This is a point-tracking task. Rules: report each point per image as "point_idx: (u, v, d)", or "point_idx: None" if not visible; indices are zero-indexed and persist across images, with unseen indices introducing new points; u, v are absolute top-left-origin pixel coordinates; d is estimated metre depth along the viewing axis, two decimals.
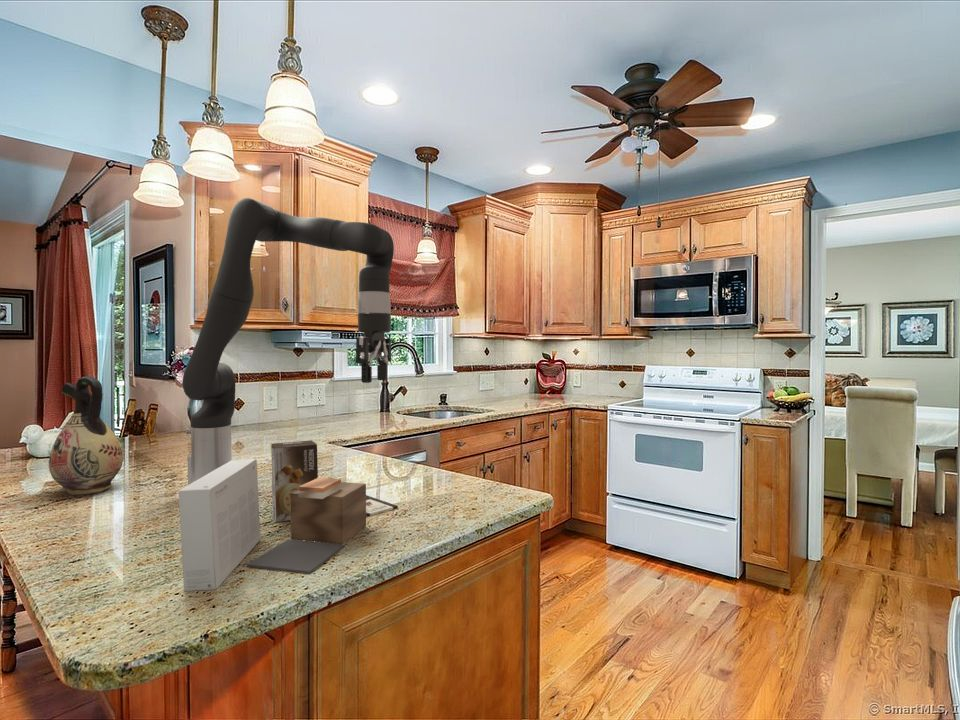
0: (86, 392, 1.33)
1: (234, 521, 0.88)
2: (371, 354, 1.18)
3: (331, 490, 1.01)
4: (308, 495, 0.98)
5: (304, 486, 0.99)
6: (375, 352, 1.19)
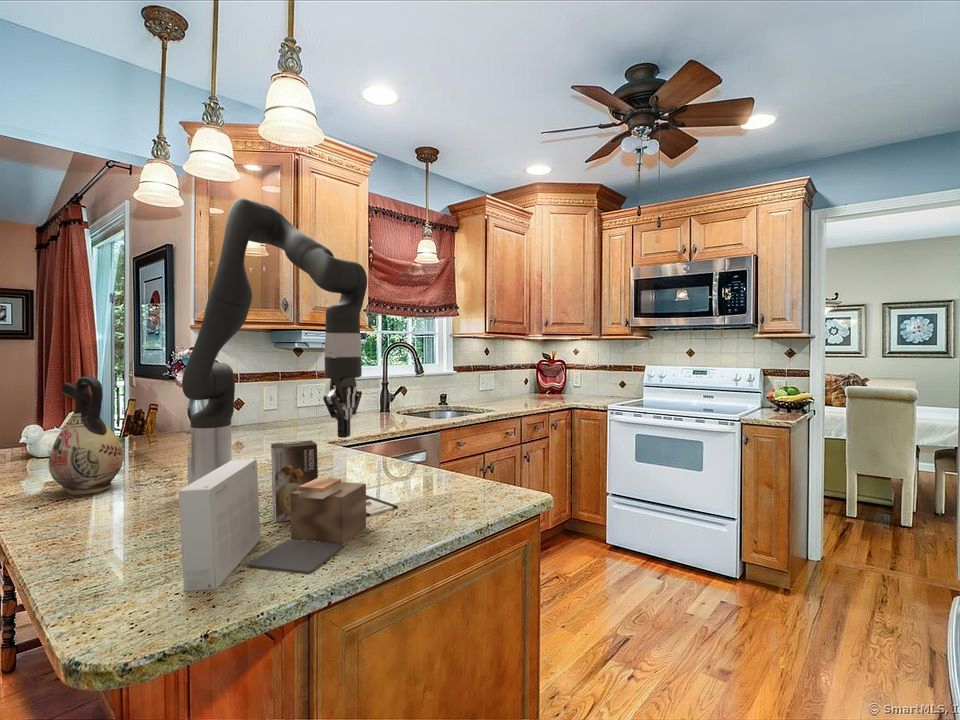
0: (86, 392, 1.33)
1: (234, 521, 0.88)
2: (344, 408, 1.08)
3: (331, 490, 1.01)
4: (308, 495, 0.98)
5: (304, 486, 0.99)
6: (348, 403, 1.09)
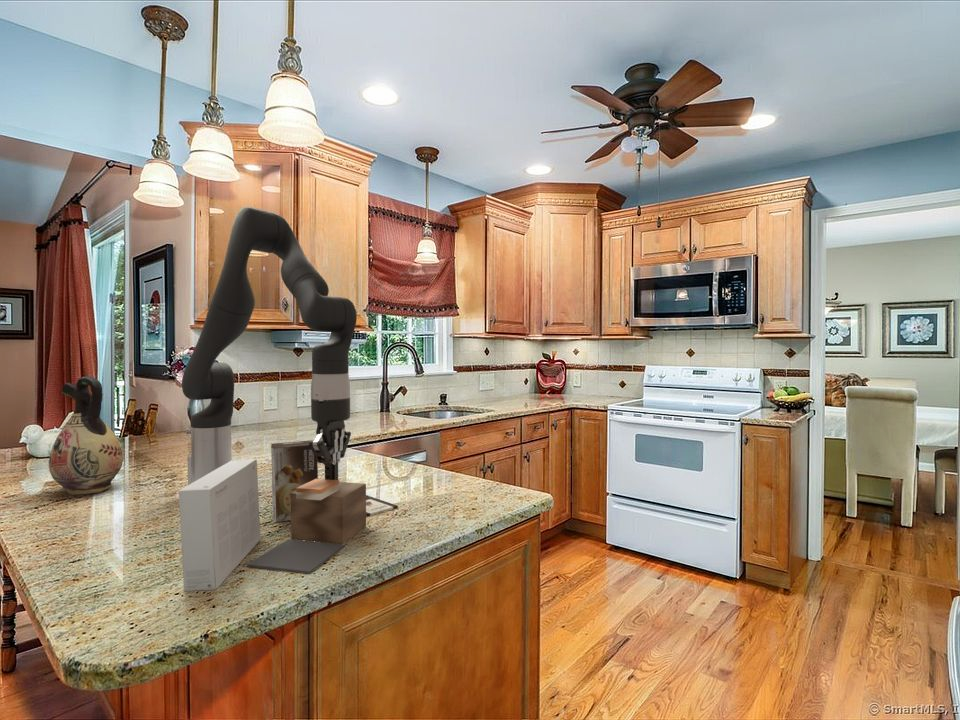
0: (86, 392, 1.33)
1: (234, 521, 0.88)
2: (332, 452, 1.03)
3: (329, 491, 1.00)
4: (306, 496, 0.97)
5: (302, 487, 0.98)
6: (335, 447, 1.03)
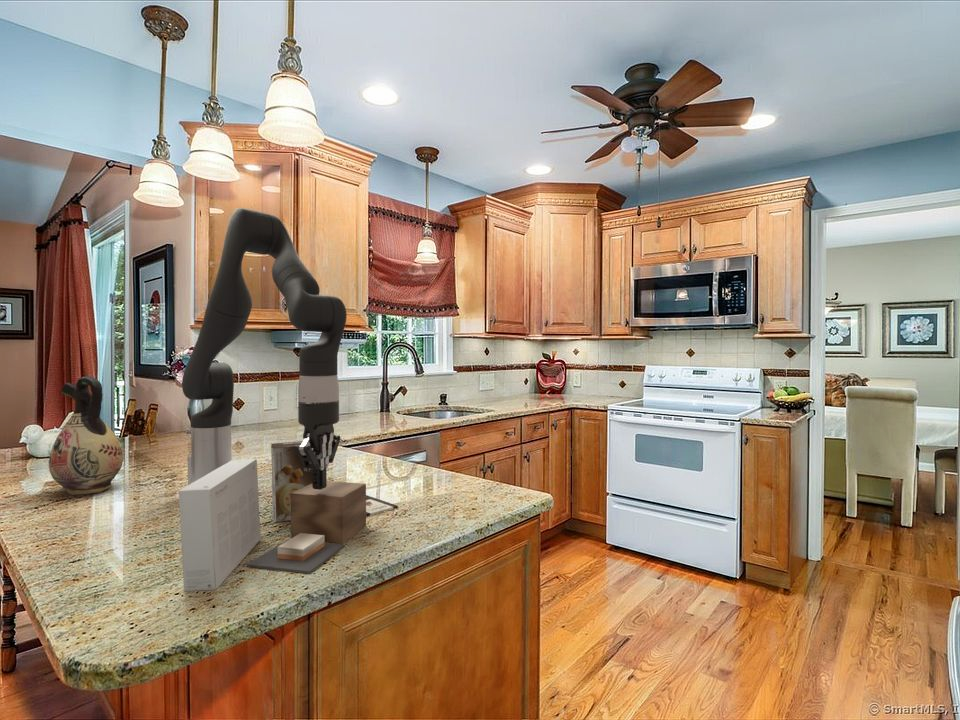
0: (86, 392, 1.33)
1: (234, 521, 0.88)
2: (320, 457, 0.99)
3: (314, 545, 0.94)
4: None
5: None
6: (323, 452, 0.99)
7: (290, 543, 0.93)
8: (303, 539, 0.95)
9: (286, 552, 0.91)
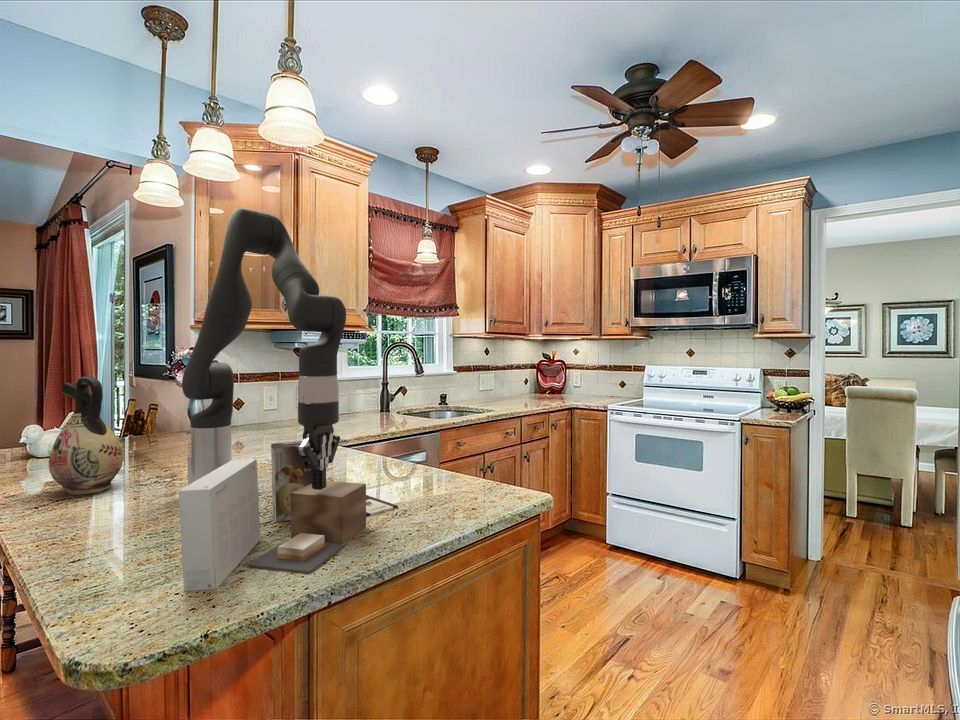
0: (86, 392, 1.33)
1: (234, 521, 0.88)
2: (319, 457, 0.99)
3: (314, 545, 0.94)
4: None
5: None
6: (323, 453, 0.99)
7: (290, 543, 0.93)
8: (303, 539, 0.95)
9: (286, 552, 0.91)
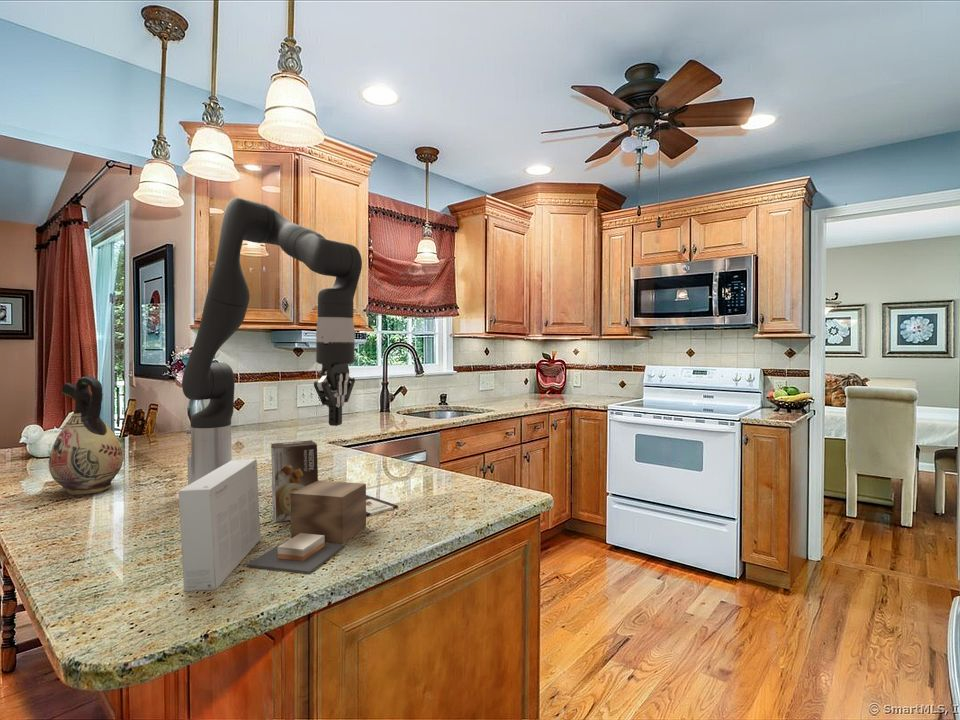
0: (86, 392, 1.33)
1: (234, 521, 0.88)
2: (336, 395, 1.05)
3: (314, 545, 0.94)
4: None
5: None
6: (339, 390, 1.05)
7: (290, 543, 0.93)
8: (303, 539, 0.95)
9: (286, 552, 0.91)
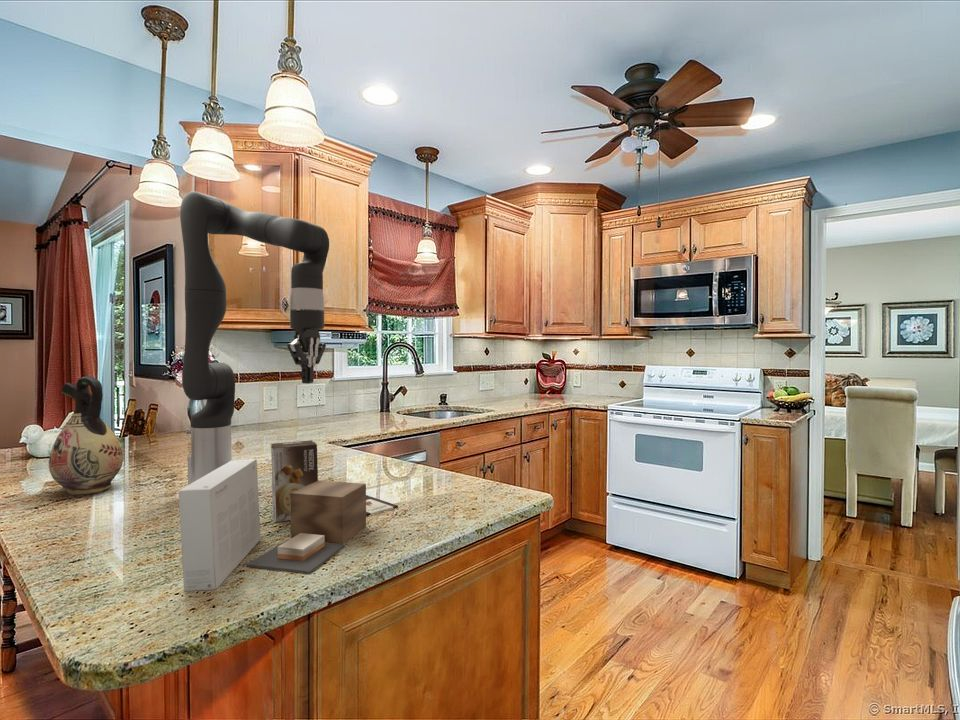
0: (86, 392, 1.33)
1: (234, 521, 0.88)
2: (307, 356, 1.20)
3: (314, 545, 0.94)
4: None
5: None
6: (311, 352, 1.20)
7: (290, 543, 0.93)
8: (303, 539, 0.95)
9: (286, 552, 0.91)
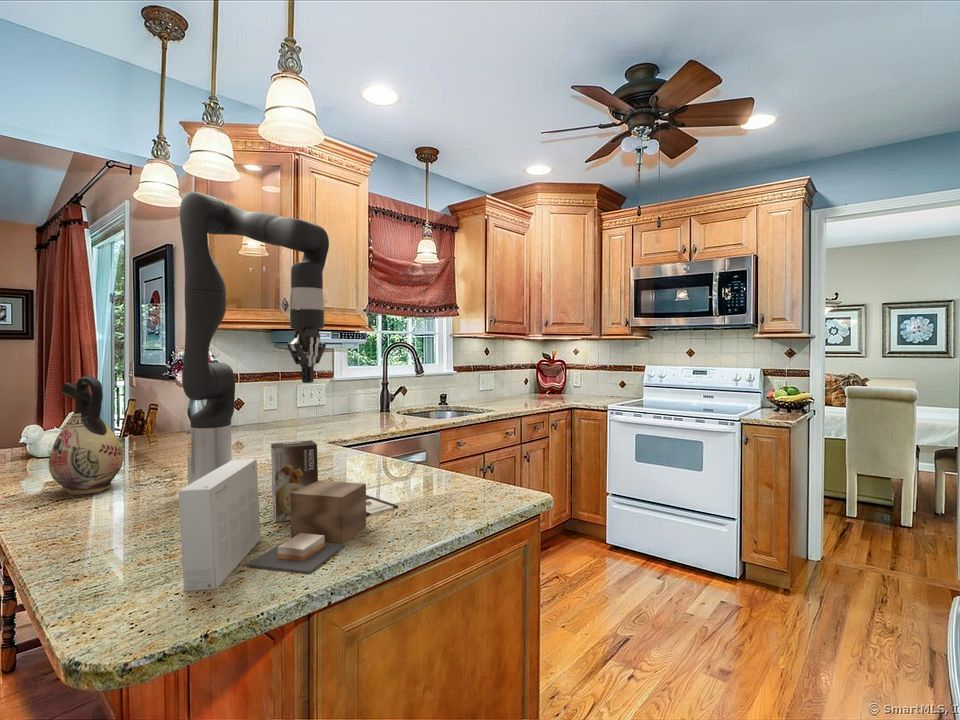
0: (86, 392, 1.33)
1: (233, 521, 0.88)
2: (307, 355, 1.20)
3: (314, 545, 0.94)
4: None
5: None
6: (311, 351, 1.20)
7: (290, 543, 0.93)
8: (303, 539, 0.95)
9: (286, 552, 0.91)
